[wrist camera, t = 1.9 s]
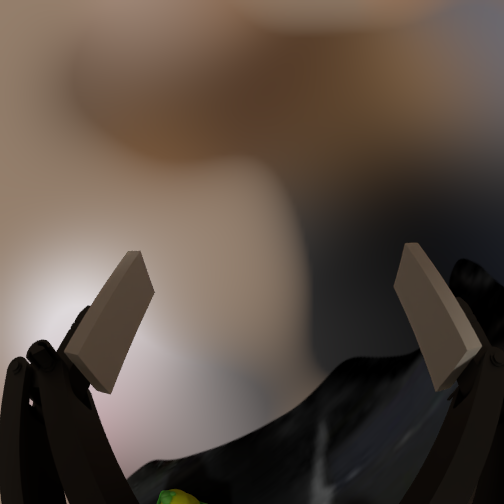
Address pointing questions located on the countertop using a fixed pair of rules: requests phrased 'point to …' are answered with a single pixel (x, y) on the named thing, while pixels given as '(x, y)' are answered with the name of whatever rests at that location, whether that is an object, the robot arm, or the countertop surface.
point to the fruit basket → (177, 497)
